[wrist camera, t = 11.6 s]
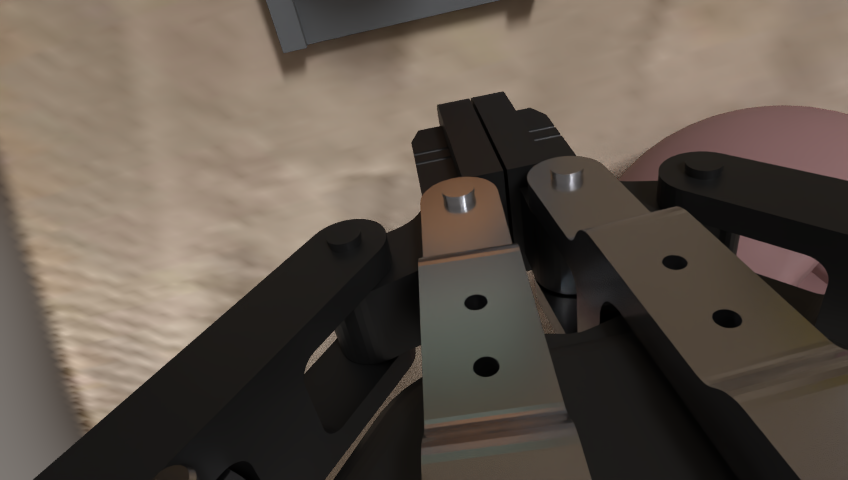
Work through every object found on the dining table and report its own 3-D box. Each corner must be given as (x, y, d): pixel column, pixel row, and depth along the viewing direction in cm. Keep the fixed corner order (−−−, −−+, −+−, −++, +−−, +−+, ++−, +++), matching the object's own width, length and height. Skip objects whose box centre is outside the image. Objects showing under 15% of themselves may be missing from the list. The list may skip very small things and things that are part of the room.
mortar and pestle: (719, 318, 30) (890, 533, 20) (506, 280, 27) (589, 510, 17) (875, 101, 24) (1224, 263, 14) (622, 23, 21) (847, 160, 11)
